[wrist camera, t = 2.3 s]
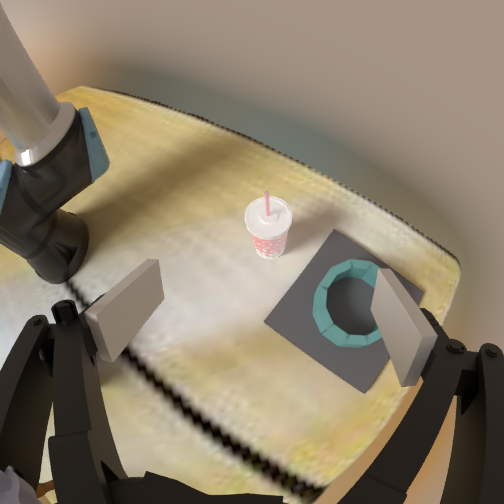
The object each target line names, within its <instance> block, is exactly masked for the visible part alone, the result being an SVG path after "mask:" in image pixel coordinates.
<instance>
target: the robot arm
mask: <svg viewBox="0 0 504 504" xmlns="http://www.w3.org/2000/svg"><path fill="white" fill-rule="evenodd" d="M0 131H1V132H2V133H3V134H4V136H5V137H6V138H7V139H8V140H9V141H10V142H11V143H12V144H13V145H14V146H15V161H16V163H15V164H12V162H11V161H9V160H4V161H2V162H0V243H1V244H2V245H4V246H5V247H7V248H8V249H10V250H12V251H13V252H15V253H16V254H18V255H20V256H21V257H23V258H24V259H26V260H27V262H28V263H29V264H30V265H31V267H32V268H33V269H35V272H36V273H37V275H38V276H39V277H40V278H42V279H43V280H45V281H47V282H49V283H51V284H59V283H62V282H64V281H66V280H67V279H69V278H70V277H71V276H72V275H73V274H74V273H75V272H76V270H77V269H78V268H79V266H80V265H81V263H82V261H83V259H84V256H85V254H86V251H87V247H88V240H89V234H88V229H87V226H86V224H85V223H84V221H83V220H81V219H80V218H79V217H78V216H77V215H75V214H73V213H70V212H66V211H64V210H62V209H59V208H60V207H62V206H63V205H64V204H65V203H67V202H68V201H69V200H71V199H72V198H73V197H74V196H76V195H77V194H78V193H80V192H81V191H82V190H84V189H85V188H87V187H88V186H89V185H91V184H93V183H94V182H95V180H96V179H98V178H99V177H100V176H101V175H103V174H104V173H105V172H106V171H107V170H108V168H109V165H110V161H109V158H108V155H107V153H106V150H105V148H104V145H103V143H102V140H101V138H100V136H99V133H98V131H97V128H96V126H95V123H94V121H93V119H92V116H91V114H90V112H89V110H88V108H87V107H84V108H81V109H79V110H78V111H77V110H76V109H75V107H74V106H73V105H72V104H71V103H69V102H58V101H57V100H56V98H55V97H54V95H53V94H52V92H51V91H50V89H49V87H48V86H47V85H46V83H45V81H44V80H43V78H42V77H41V75H40V73H39V72H38V70H37V69H36V67H35V65H34V64H33V62H32V60H31V59H30V57H29V55H28V54H27V52H26V50H25V48H24V47H23V45H22V43H21V41H20V40H19V38H18V36H17V34H16V32H15V31H14V29H13V27H12V25H11V23H10V21H9V20H8V17H7V15H6V14H5V11H4V10H3V7H2V5H1V3H0ZM163 300H164V293H163V287H162V280H161V273H160V267H159V260H158V259H147V260H146V261H145V262H144V263H142V264H141V265H140V266H139V267H137V268H136V269H135V270H134V271H132V272H131V273H130V274H129V275H128V276H126V277H125V278H124V279H123V280H121V281H120V282H119V283H118V284H117V285H115V286H114V287H113V288H112V289H111V290H110V291H108V292H107V293H105V294H103V295H101V296H100V297H98V298H97V299H96V300H95V301H94V302H93V303H91V305H89V306H88V307H87V308H86V309H84V310H83V311H82V312H81V313H80V314H78V311H77V308H76V305H75V302H74V301H73V300H62V301H59V302H57V303H55V304H54V305H53V306H52V308H51V310H52V313H53V316H54V319H55V321H56V324H49V322H48V320H47V317H46V316H45V315H35V316H33V317H32V318H31V319H29V320H28V321H27V323H26V324H25V326H24V328H23V330H22V331H21V333H20V335H19V336H18V338H17V340H16V342H15V344H14V345H13V347H12V349H11V351H10V353H9V355H8V357H7V359H6V361H5V363H4V365H3V367H2V369H1V371H0V504H42V503H41V502H40V500H39V499H38V498H37V496H36V491H37V487H38V483H39V479H40V472H41V464H42V456H43V449H44V442H45V436H46V431H47V425H48V420H49V416H50V411H51V407H52V402H53V411H54V426H55V436H51V437H49V439H48V449H49V458H50V465H51V472H52V477H53V483H54V488H55V493H56V497H57V502H58V503H55V504H288V503H284V502H283V496H274V495H260V494H249V493H245V494H231V495H208V494H205V493H203V492H200V491H198V490H196V489H194V488H192V487H190V486H188V485H186V484H184V483H182V482H180V481H178V480H175V479H171V478H168V477H164V476H161V475H157V474H154V473H151V472H148V471H146V473H145V475H144V477H129V478H128V476H127V475H126V473H125V471H124V469H123V467H122V464H121V462H120V459H119V456H118V453H117V450H116V446H115V443H114V440H113V437H112V433H111V430H110V426H109V422H108V418H107V414H106V410H105V406H104V402H103V397H102V392H101V387H100V382H99V377H98V371H97V365H96V360H95V357H94V354H95V353H96V351H98V353H99V356H100V358H101V360H104V361H107V362H111V363H114V361H115V360H116V359H117V357H118V356H119V355H120V353H121V352H122V351H123V350H124V348H125V347H126V346H127V345H128V343H129V342H130V341H131V339H132V338H133V337H134V336H135V334H136V333H137V332H138V331H139V329H140V328H141V327H142V326H143V324H144V323H145V322H146V321H147V320H148V318H149V317H150V316H151V315H152V313H153V312H154V311H155V310H156V308H157V307H158V306H159V305H160V304H161V302H162V301H163ZM370 310H371V312H372V314H373V317H374V319H375V321H376V323H377V326H378V328H379V331H380V333H381V335H382V338H383V340H384V343H385V345H386V348H387V350H388V353H389V355H390V358H391V360H392V363H393V366H394V368H395V371H396V374H397V376H398V379H399V382H400V385H401V387H406V386H414V385H416V384H417V382H418V380H419V378H420V376H421V377H422V379H423V381H424V382H423V384H422V386H421V388H420V390H419V392H418V393H417V395H416V397H415V399H414V401H413V403H412V404H411V406H410V408H409V409H408V411H407V413H406V414H405V416H404V418H403V419H402V421H401V423H400V424H399V426H398V427H397V429H396V430H395V432H394V433H393V435H392V436H391V438H390V439H389V441H388V442H387V444H386V445H385V446H384V448H383V449H382V451H381V452H380V453H379V455H378V456H377V457H376V459H375V460H374V462H373V463H372V464H371V465H370V466H369V468H368V469H367V470H366V471H365V473H364V474H363V475H362V476H361V477H360V479H359V480H358V481H357V482H356V483H355V485H354V486H353V487H352V488H351V489H350V490H349V491H348V492H347V494H346V495H345V496H344V497H343V498H342V499H341V500H340V501H339V502H338V503H337V504H403V503H404V501H405V499H406V497H407V494H406V492H407V490H408V488H409V487H410V485H411V483H412V482H413V480H414V478H415V477H416V475H417V474H418V472H419V470H420V468H421V467H422V465H423V463H424V461H425V459H426V457H427V456H428V454H429V452H430V450H431V448H432V446H433V444H434V442H435V440H436V437H437V435H438V433H439V431H440V429H441V426H442V424H443V422H444V419H445V417H446V415H447V412H448V409H449V407H450V404H451V402H452V399H453V396H454V395H456V396H457V407H456V420H455V430H454V439H453V445H452V452H451V458H450V463H449V468H448V473H447V478H446V482H445V486H444V490H443V494H442V498H441V501H440V504H504V355H503V353H502V350H500V348H499V347H498V346H496V345H494V344H491V343H486V344H483V345H482V346H481V348H480V350H479V352H471V351H467V349H466V347H465V345H463V344H462V343H461V342H460V341H458V340H455V339H449V337H448V336H447V335H446V333H445V332H444V330H443V329H442V327H441V326H440V325H439V323H438V322H437V320H436V319H435V317H434V316H433V315H432V313H430V312H429V311H428V310H426V309H425V308H419V307H418V306H417V304H416V303H415V301H414V300H413V299H412V297H411V296H410V295H409V293H408V292H407V290H406V289H405V288H404V286H403V285H402V284H401V282H400V281H399V280H398V278H397V277H396V276H395V274H394V273H393V272H392V271H391V269H382V268H378V273H377V279H376V284H375V290H374V295H373V300H372V305H371V309H370ZM40 357H41V358H40Z"/></svg>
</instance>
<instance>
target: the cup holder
mask: <svg viewBox="0 0 504 504" xmlns="http://www.w3.org/2000/svg"><path fill="white" fill-rule="evenodd" d="M378 268H382V269H391V271H392V272H393V273H394V274H395V276H396V277H397V278H398V280H399V281H400V282H401V284H402V285H403V286H404V288H405V289H406V290H407V292H408V293H409V295H410V296H411V297H412V299H413V300H414V301H415V303H416V304H417V306H418V304H419V302H420V300H421V298H422V295H423V293H424V292H423V291H422V290H420V289H419V288H418V287H416V286H415V285H414V284H412V283H411V282H410V281H408V280H407V279H406V278H404V277H403V276H402V275H400V274H399V273H398V272H396V271H395V270H393V269H392V268H391V267H389V266H388V265H386V264H385V263H384V262H382V261H381V260H379V259H378V258H376V257H375V256H374V255H372V254H371V253H369V252H368V251H366V250H365V249H363V248H362V247H361V246H359V245H358V244H356V243H355V242H353V241H352V240H350V239H349V238H347V237H346V236H344V235H343V234H341V233H340V232H338V231H337V230H335V229H334V230H333V231H332V233H331V234H330V235H329V237H328V238H327V240H326V241H325V242H324V244H323V245H322V246H321V248H320V249H319V250H318V252H317V253H316V254H315V256H314V257H313V259H312V260H311V261H310V263H309V264H308V265H307V266H306V268H305V269H304V270H303V272H302V273H301V274H300V276H299V277H298V278H297V280H296V281H295V282H294V284H293V285H292V286H291V287H290V289H289V290H288V291H287V293H286V294H285V295H284V296H283V298H282V299H281V300H280V301H279V303H278V304H277V305H276V306H275V308H274V309H273V310H272V311H271V313H270V314H269V315H268V316H267V318H266V319H265V320H264V323H266V324H267V325H268V326H270V327H271V328H272V329H274V330H275V331H276V332H277V333H279V334H280V335H281V336H283V337H284V338H286V339H287V340H288V341H290V342H291V343H292V344H294V345H295V346H296V347H298V348H299V349H300V350H302V351H303V352H305V353H306V354H307V355H309V356H310V357H312V358H313V359H314V360H316V361H317V362H319V363H320V364H321V365H323V366H324V367H326V368H327V369H328V370H330V371H331V372H333V373H334V374H336V375H337V376H338V377H340V378H341V379H343V380H344V381H346V382H347V383H349V384H350V385H352V386H353V387H355V388H356V389H358V390H359V391H361V392H362V393H364V394H365V393H366V392H367V390H368V389H369V388H370V386H371V385H372V383H373V382H374V380H375V379H376V377H377V376H378V374H379V373H380V371H381V370H382V368H383V367H384V365H385V363H386V362H387V360H388V359H389V357H390V355H389V353H388V350H387V348H386V345H385V343H384V340H383V338H382V335H381V333H380V331H379V328H378V326H377V323H376V321H375V319H374V317H373V314H372V312H371V310H370V309H371V305H372V300H373V295H374V290H375V284H376V279H377V273H378Z"/></svg>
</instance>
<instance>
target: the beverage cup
mask: <svg viewBox="0 0 504 504" xmlns="http://www.w3.org/2000/svg"><path fill="white" fill-rule="evenodd" d="M244 220H245V223H246V226H247V229H248V230H249V231H250V232H251V235H252V238H253V241H254V244H255V247H256V250H257V253H258V254H259V255H260V256H261V257H263V258H265V259H275V258H278V257H279V256H280V255H281V254H282V253H283V251H284V249H285V245H286V239H287V234H288V230H289V228H290V226H291V223H292V212H291V209H290V207H289V205H288V204H287V203H285V202H284V201H283V200H281V199H279V198H276V197H270V196H269V192H268V191H265V197H261V198H258V199H256V200H254V201H253V202H252V203H250V204H249V206H248V207H247V209H246V211H245V217H244Z"/></svg>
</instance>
